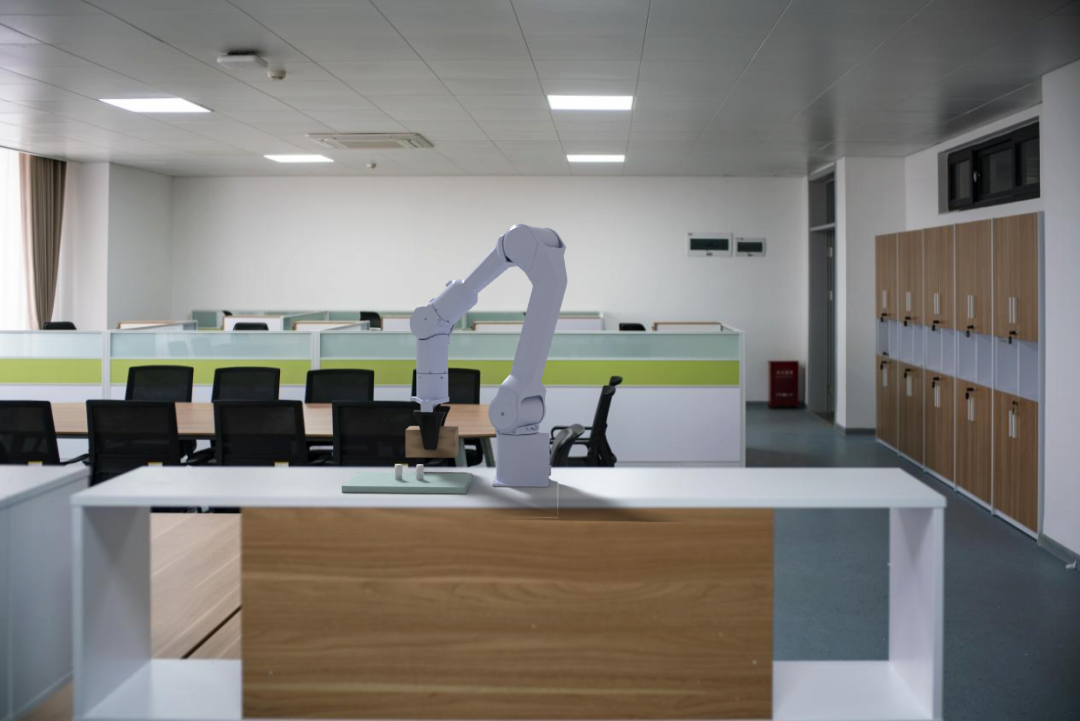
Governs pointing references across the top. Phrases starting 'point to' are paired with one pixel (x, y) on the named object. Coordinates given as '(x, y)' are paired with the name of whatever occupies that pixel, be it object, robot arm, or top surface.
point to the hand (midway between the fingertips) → (432, 447)
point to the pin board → (408, 482)
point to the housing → (445, 446)
